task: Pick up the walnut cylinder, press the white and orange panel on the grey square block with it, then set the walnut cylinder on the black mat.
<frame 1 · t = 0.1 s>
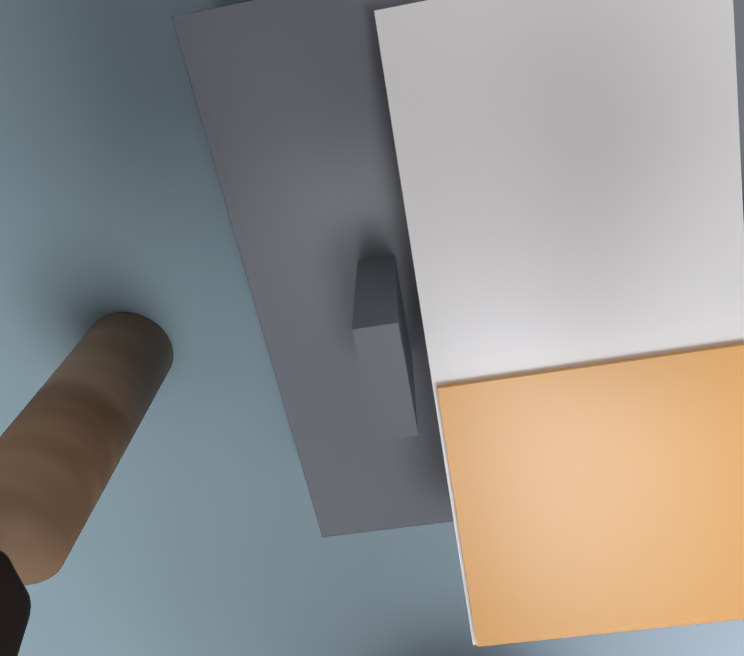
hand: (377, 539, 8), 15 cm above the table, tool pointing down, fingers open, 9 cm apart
grey square block: (523, 233, 21), on the table
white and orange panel: (580, 334, 15), point 7 cm above the table, hinge at 15.0°
walnut cylinder: (130, 350, 23), on the table
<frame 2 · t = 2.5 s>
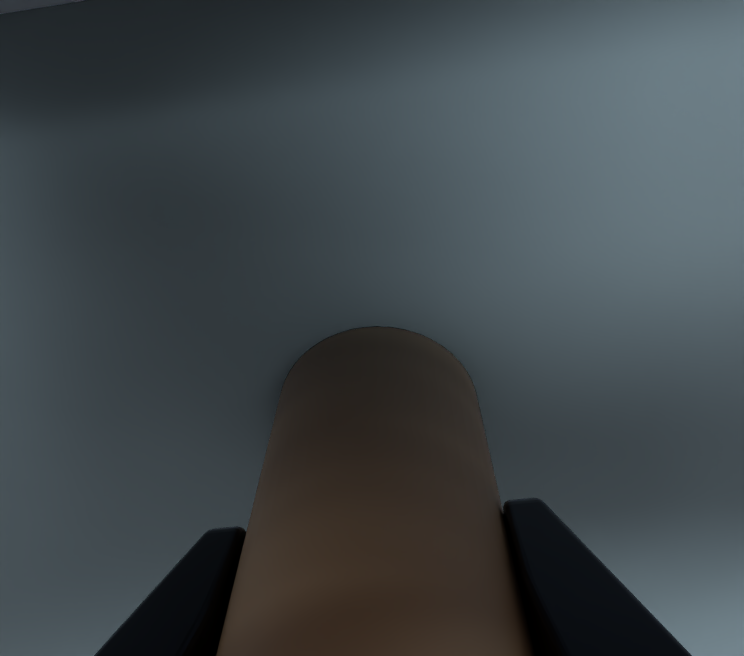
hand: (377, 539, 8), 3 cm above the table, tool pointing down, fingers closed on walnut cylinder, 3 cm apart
walnut cylinder: (378, 414, 10), on the table, touching gripper
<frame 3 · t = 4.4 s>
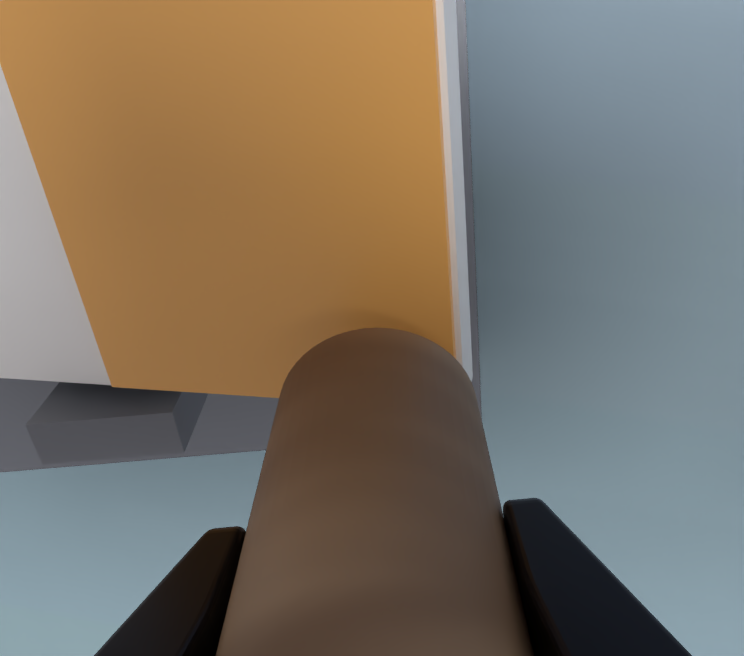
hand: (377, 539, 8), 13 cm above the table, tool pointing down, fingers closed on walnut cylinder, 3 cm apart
grey square block: (160, 133, 18), on the table
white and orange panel: (49, 211, 12), point 7 cm above the table, hinge at 15.0°
walnut cylinder: (377, 415, 10), point 10 cm above the table, touching gripper
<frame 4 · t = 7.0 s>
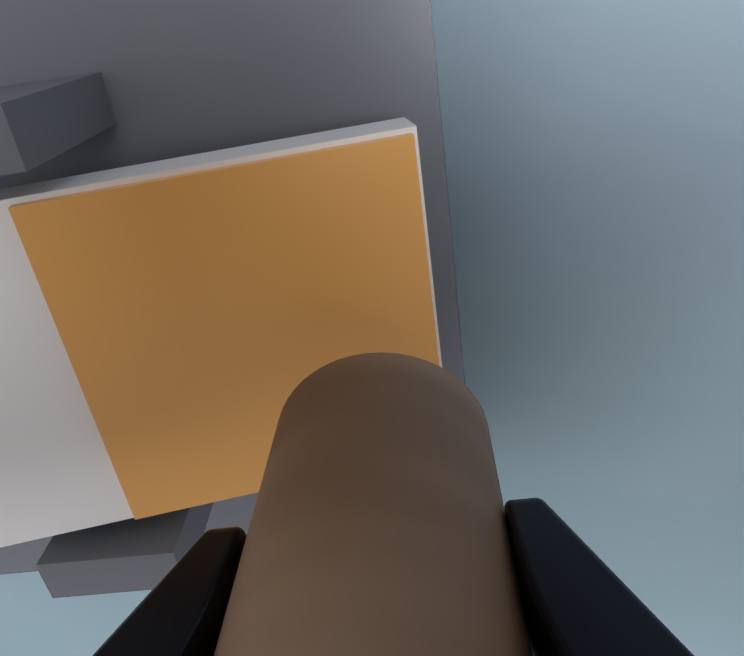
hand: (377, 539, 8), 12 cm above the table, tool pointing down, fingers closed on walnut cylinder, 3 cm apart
grey square block: (161, 247, 19), on the table
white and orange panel: (54, 374, 13), point 7 cm above the table, hinge at -10.8°
walnut cylinder: (382, 444, 9), point 10 cm above the table, touching gripper
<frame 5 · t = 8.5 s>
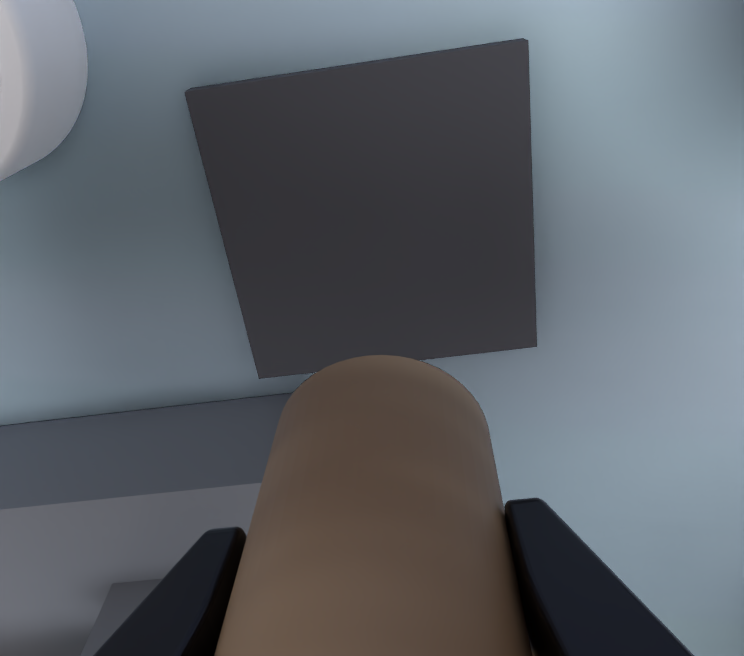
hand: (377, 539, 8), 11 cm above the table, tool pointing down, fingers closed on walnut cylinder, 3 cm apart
grey square block: (235, 586, 24), on the table
black mat: (376, 223, 18), on the table
walnut cylinder: (382, 446, 9), point 9 cm above the table, touching gripper
when the fingers open (5 cm above the table, at t = 9.8 s): walnut cylinder drops 2 cm, resting on black mat.
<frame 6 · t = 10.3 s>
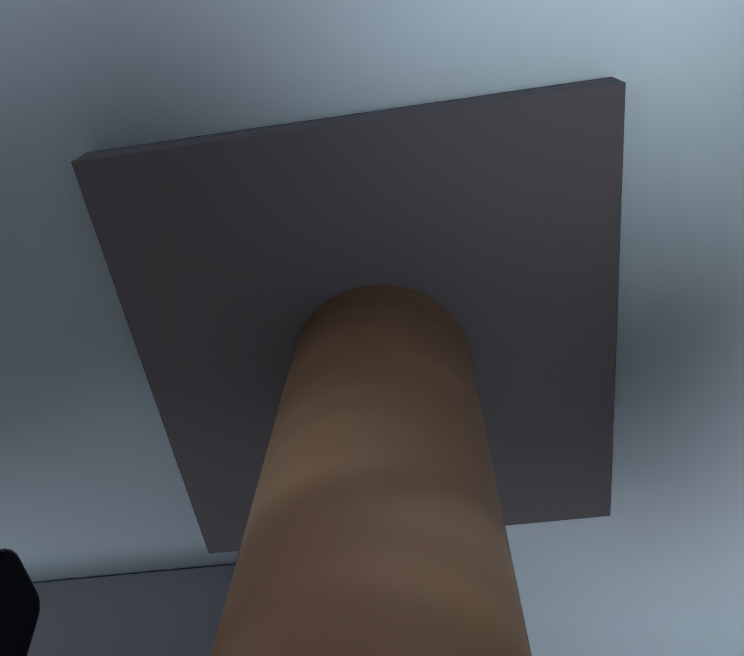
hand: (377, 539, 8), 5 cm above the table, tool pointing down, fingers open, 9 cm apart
black mat: (377, 345, 12), on the table
walnut cylinder: (381, 365, 11), point 1 cm above the table, touching black mat
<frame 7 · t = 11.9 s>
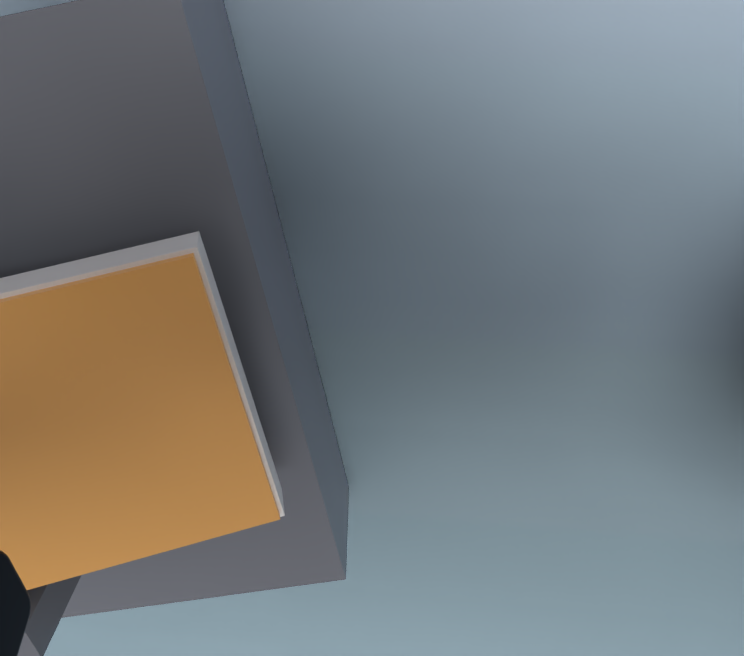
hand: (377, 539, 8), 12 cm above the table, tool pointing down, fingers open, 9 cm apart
grey square block: (39, 325, 20), on the table
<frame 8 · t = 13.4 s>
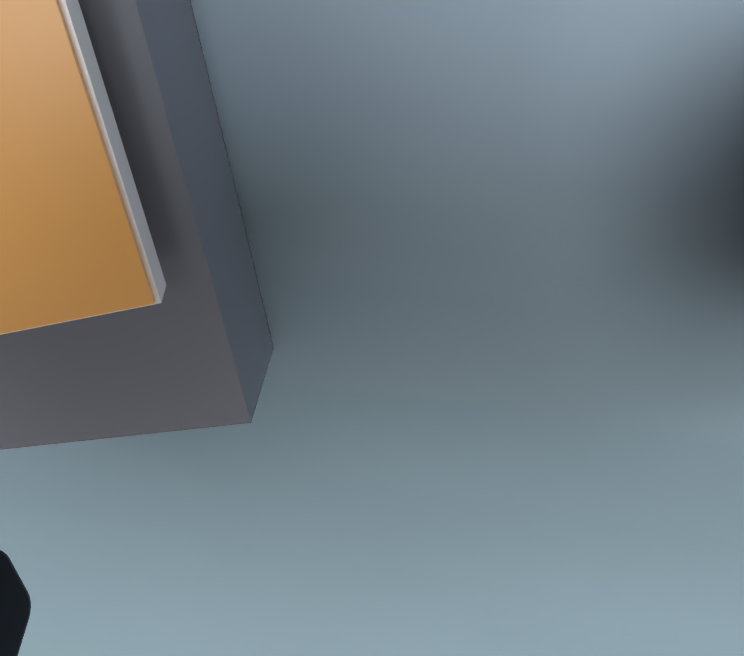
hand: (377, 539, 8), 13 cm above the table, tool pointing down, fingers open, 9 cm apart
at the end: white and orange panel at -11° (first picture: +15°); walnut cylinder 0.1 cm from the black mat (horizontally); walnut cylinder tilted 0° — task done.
